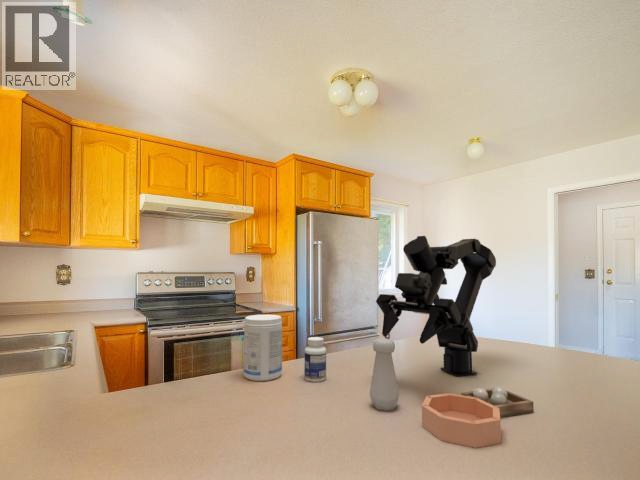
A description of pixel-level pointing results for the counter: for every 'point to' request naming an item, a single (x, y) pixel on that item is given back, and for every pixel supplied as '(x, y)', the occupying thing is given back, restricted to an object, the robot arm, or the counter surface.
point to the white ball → (500, 391)
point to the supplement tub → (262, 347)
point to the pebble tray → (509, 404)
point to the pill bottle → (315, 360)
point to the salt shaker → (384, 376)
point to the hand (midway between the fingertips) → (401, 338)
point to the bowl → (461, 420)
